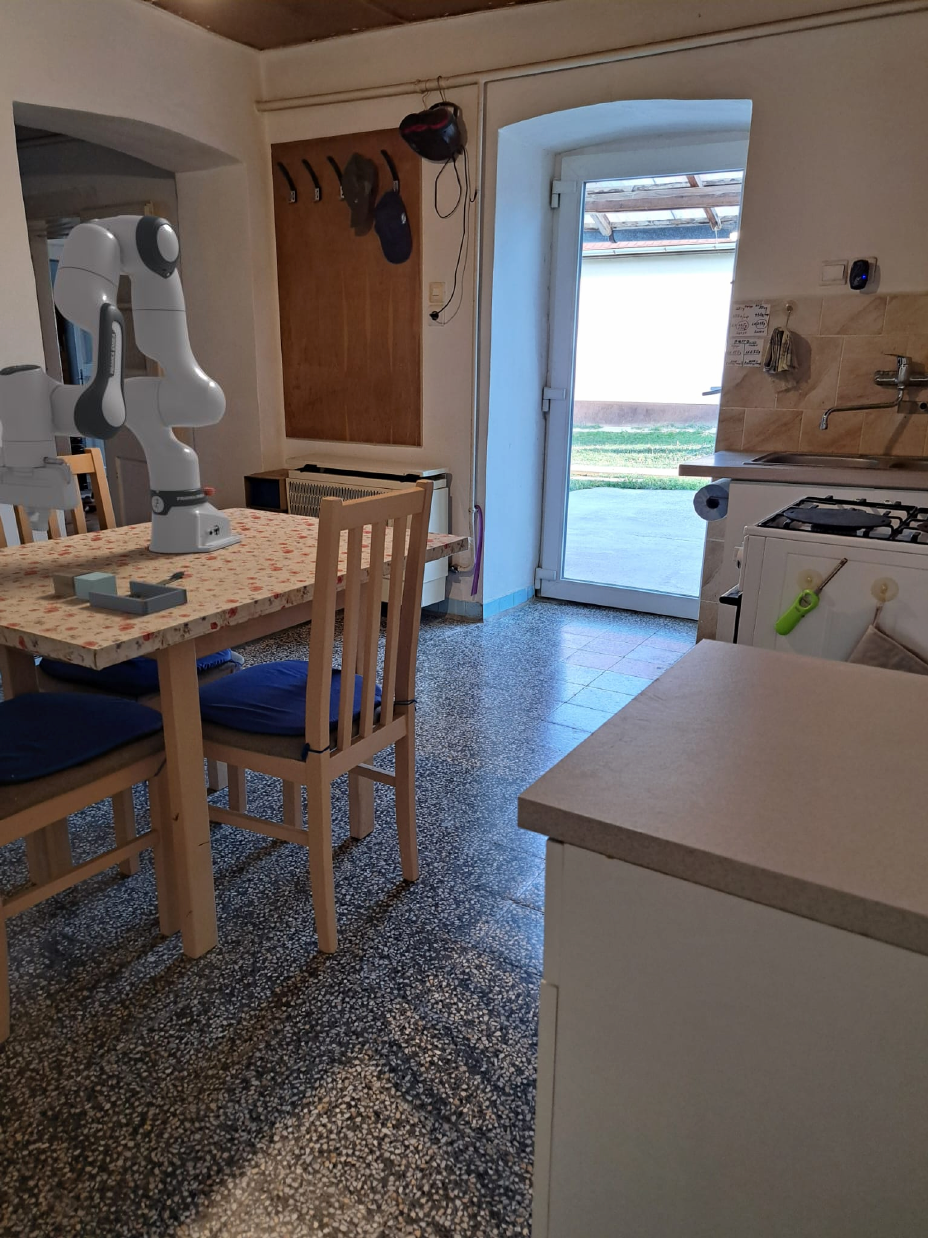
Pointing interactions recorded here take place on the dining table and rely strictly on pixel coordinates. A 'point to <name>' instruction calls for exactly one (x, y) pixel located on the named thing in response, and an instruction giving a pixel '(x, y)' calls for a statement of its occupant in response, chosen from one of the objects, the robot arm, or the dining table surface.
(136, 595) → the tactical tomahawk
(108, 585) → the pale blue cube
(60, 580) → the brown block
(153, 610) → the tray
